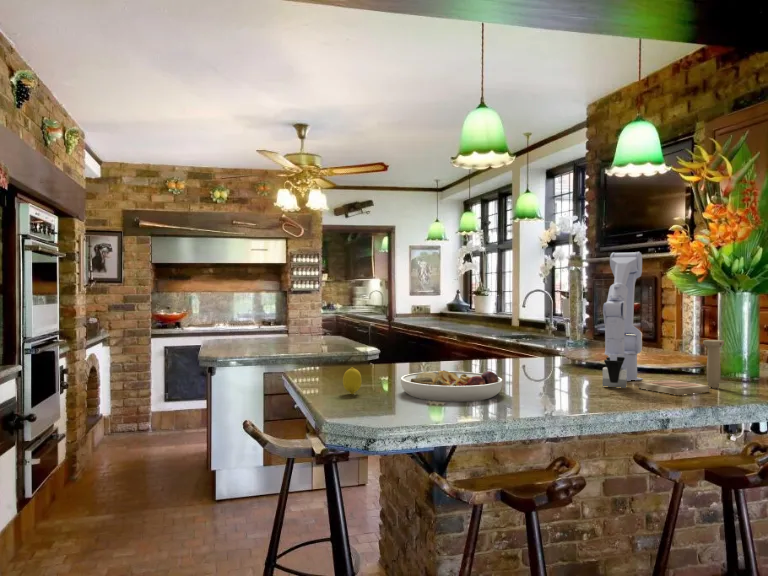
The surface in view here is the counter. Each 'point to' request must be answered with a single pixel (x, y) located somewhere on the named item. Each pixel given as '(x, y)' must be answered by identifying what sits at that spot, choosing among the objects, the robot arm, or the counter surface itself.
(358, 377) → the lemon
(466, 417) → the counter surface
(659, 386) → the stand
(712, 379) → the handle
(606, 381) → the block
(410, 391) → the bowl
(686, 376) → the counter surface
